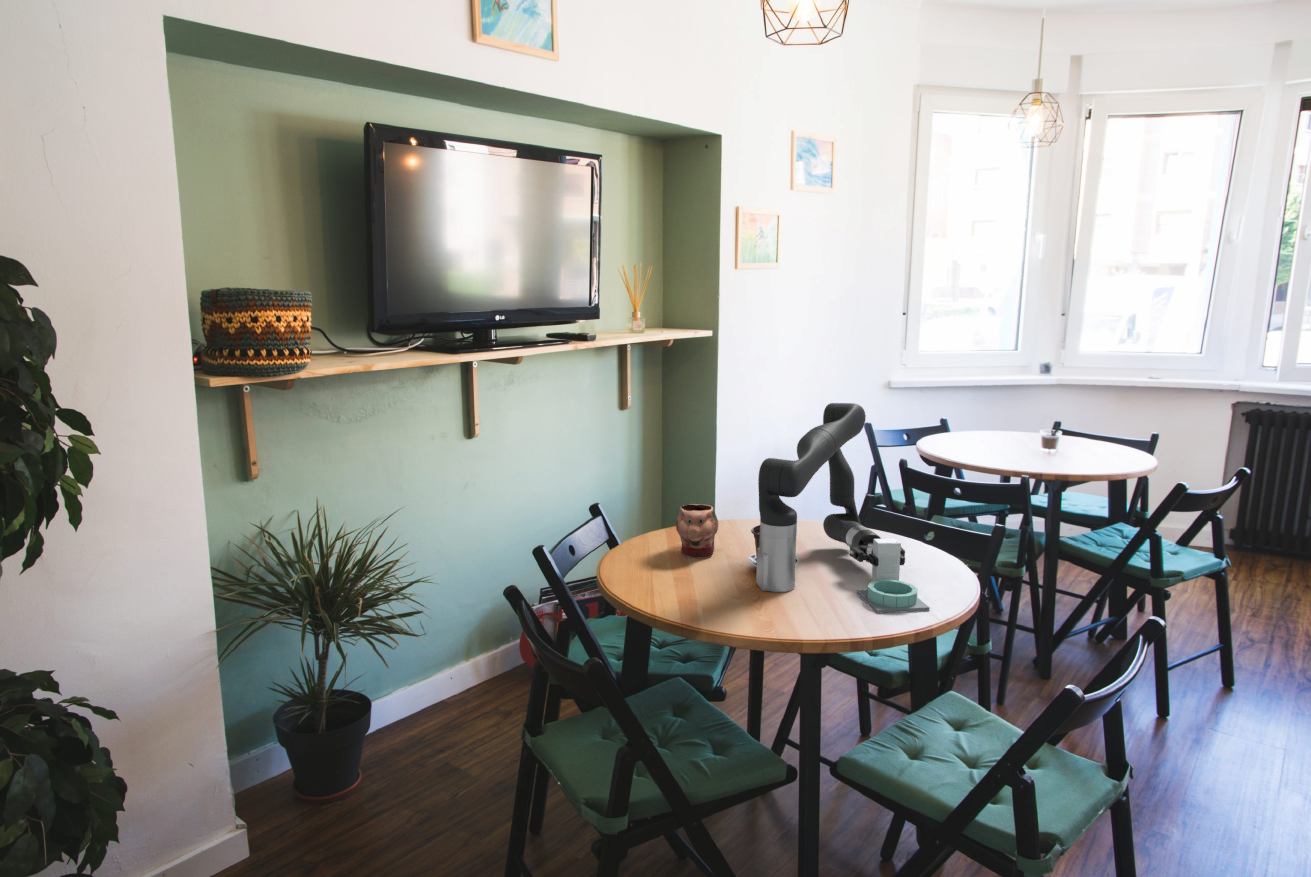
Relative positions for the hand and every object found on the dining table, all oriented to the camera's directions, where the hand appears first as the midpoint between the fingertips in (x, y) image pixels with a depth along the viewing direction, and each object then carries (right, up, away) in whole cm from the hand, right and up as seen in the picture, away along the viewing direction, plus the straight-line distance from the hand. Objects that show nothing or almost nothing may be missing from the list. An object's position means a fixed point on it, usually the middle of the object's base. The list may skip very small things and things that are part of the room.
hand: (890, 562), depth 204 cm
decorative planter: (-48, -2, +30) cm, 56 cm away
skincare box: (0, -7, +4) cm, 8 cm away
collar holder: (-2, -8, -8) cm, 12 cm away
